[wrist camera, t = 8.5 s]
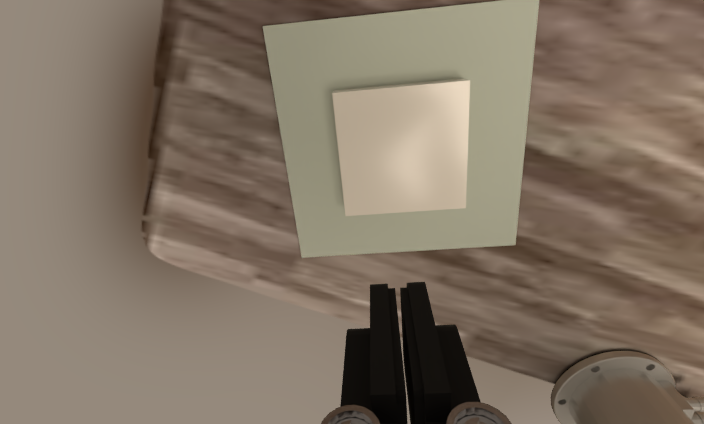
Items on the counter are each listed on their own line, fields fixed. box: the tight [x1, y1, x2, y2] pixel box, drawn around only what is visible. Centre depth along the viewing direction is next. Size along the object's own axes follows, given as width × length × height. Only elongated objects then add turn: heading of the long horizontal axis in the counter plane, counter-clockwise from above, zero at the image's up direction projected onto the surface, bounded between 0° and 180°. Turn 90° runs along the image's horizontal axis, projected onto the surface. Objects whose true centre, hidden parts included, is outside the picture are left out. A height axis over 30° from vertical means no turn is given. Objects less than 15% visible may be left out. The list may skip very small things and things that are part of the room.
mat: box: [263, 0, 539, 258], centre depth 31 cm, size 20×20×1 cm
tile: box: [332, 79, 470, 216], centre depth 30 cm, size 2×10×10 cm
